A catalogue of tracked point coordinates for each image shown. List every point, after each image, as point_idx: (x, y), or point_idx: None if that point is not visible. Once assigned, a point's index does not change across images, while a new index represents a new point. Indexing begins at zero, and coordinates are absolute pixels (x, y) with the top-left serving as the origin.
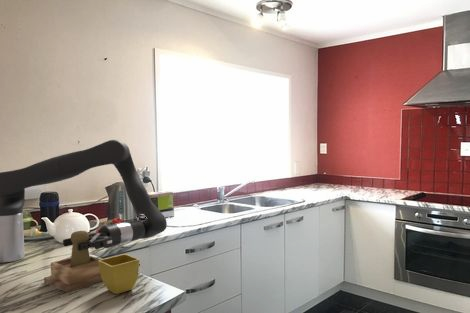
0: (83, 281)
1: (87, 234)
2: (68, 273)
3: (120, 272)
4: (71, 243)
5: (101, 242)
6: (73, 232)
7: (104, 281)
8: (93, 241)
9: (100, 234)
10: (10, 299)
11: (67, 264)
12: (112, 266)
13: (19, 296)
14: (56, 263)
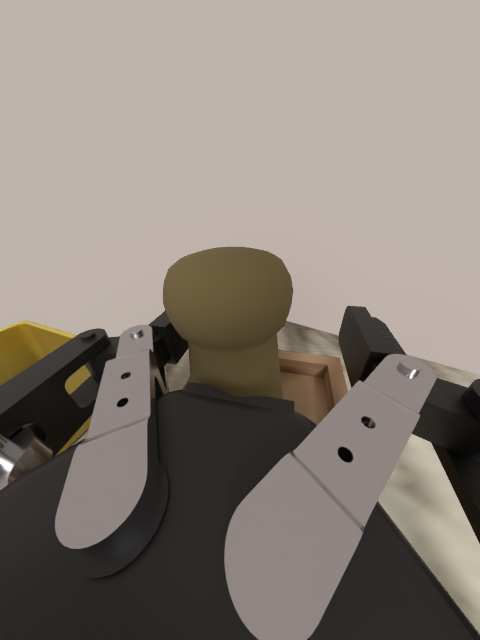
0: None
1: (163, 288)
2: None
3: (5, 358)
4: (349, 361)
5: (63, 392)
6: (266, 251)
7: None
8: (123, 340)
9: (67, 503)
10: (289, 326)
11: (323, 417)
12: (22, 321)
13: (289, 335)
14: (311, 360)
